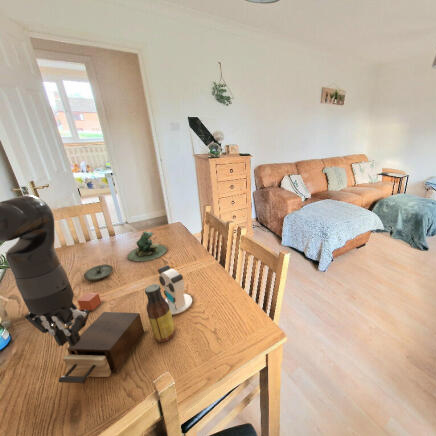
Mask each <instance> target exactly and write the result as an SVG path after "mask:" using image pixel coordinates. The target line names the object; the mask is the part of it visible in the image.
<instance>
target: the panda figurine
mask: <svg viewBox="0 0 436 436" xmlns="http://www.w3.org/2000/svg"><path fill="white" fill-rule="evenodd" d="M157 272H158V274H159V276H158V280H159V283H160V286H162V288H163V289H164V290H163V294H164V296H165V298H164V299H165V300H166V302H167V303H168V304H169V307H170V311H171V315H178V314H181V313H183V312H185V311H186V310H188V309H189V308H190V307H191V305H192V303H193V298H192V296H191V295H190V294H188V293H184V292H185V291H186V287H185V282H184V276H183V275H182V274H181V273H179V271H177V270H176V269H174V268H170V266H169V265H168V264H167V265H165V266H161V267H160V268H158V269H157Z"/></svg>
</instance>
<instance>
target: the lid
mask: <svg viewBox="0 0 436 436" xmlns="http://www.w3.org/2000/svg"><path fill="white" fill-rule="evenodd" d="M113 271H114V267H113V266H112V265H111V264H99V265H96V266H93V267H91V268H89V269H87V270H86V271H85V272H84V274H83V278H84V279H85V280H86V281H90V282H91V281H92V282H94V281H95V282H96V281H100V280H102V279H104V278H106V277H109V276H110V275H111V274H112V272H113Z"/></svg>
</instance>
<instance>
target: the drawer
mask: <svg viewBox="0 0 436 436" xmlns="http://www.w3.org/2000/svg"><path fill="white" fill-rule="evenodd" d="M74 352H75V354H76V355H70V354H66V355H65V356H64V357H63V358H62V359H63V362H64V364H65V366H66V369H67V372H66V373H65V374H64V375H61V376H60V377H59V378H58V383H61V384H62V383H63V384H85V383H86V382H87V380H88V377H93V378H94V377H95V378H97V377H98V378H109V377H110V376H111V375H112V371H111V370H110V367H113V366H112V363H111V361H110V358H109V355H108V352H92V351H74Z"/></svg>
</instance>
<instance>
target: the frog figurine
mask: <svg viewBox="0 0 436 436" xmlns="http://www.w3.org/2000/svg"><path fill="white" fill-rule="evenodd" d="M153 235H154V233H153V232H152V231H143V232H142V233H141V236H140V238H139V239H138V240H137V241H136V246H137V248H135V249H132V250H131V251H130V252H129V253H128V255H127V258H128V259H129V260H130V261H133V262H146V261H153V260H155V259H158V258H160V257H162V256H164V255H165V253H166V252H167V250H168V249H167V247H166V246H165V245H162V244H159V243H157V242H156V243H155V242H153V241H152V239H151V237H152V236H153Z"/></svg>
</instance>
